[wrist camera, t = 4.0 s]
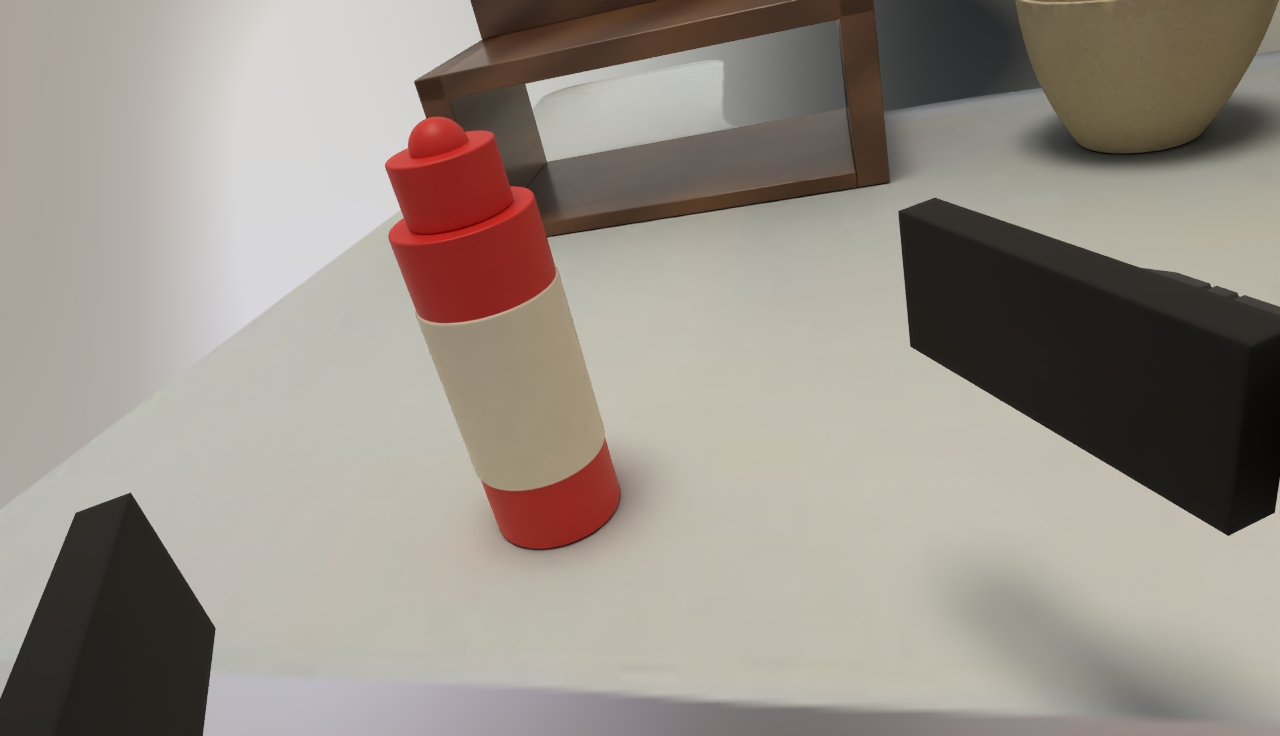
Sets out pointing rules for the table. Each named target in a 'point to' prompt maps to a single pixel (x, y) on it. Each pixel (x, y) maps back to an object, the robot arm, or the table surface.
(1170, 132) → the beige bowl
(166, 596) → the robot arm
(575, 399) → the red cream bottle
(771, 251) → the table surface
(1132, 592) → the table surface
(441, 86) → the shelf
